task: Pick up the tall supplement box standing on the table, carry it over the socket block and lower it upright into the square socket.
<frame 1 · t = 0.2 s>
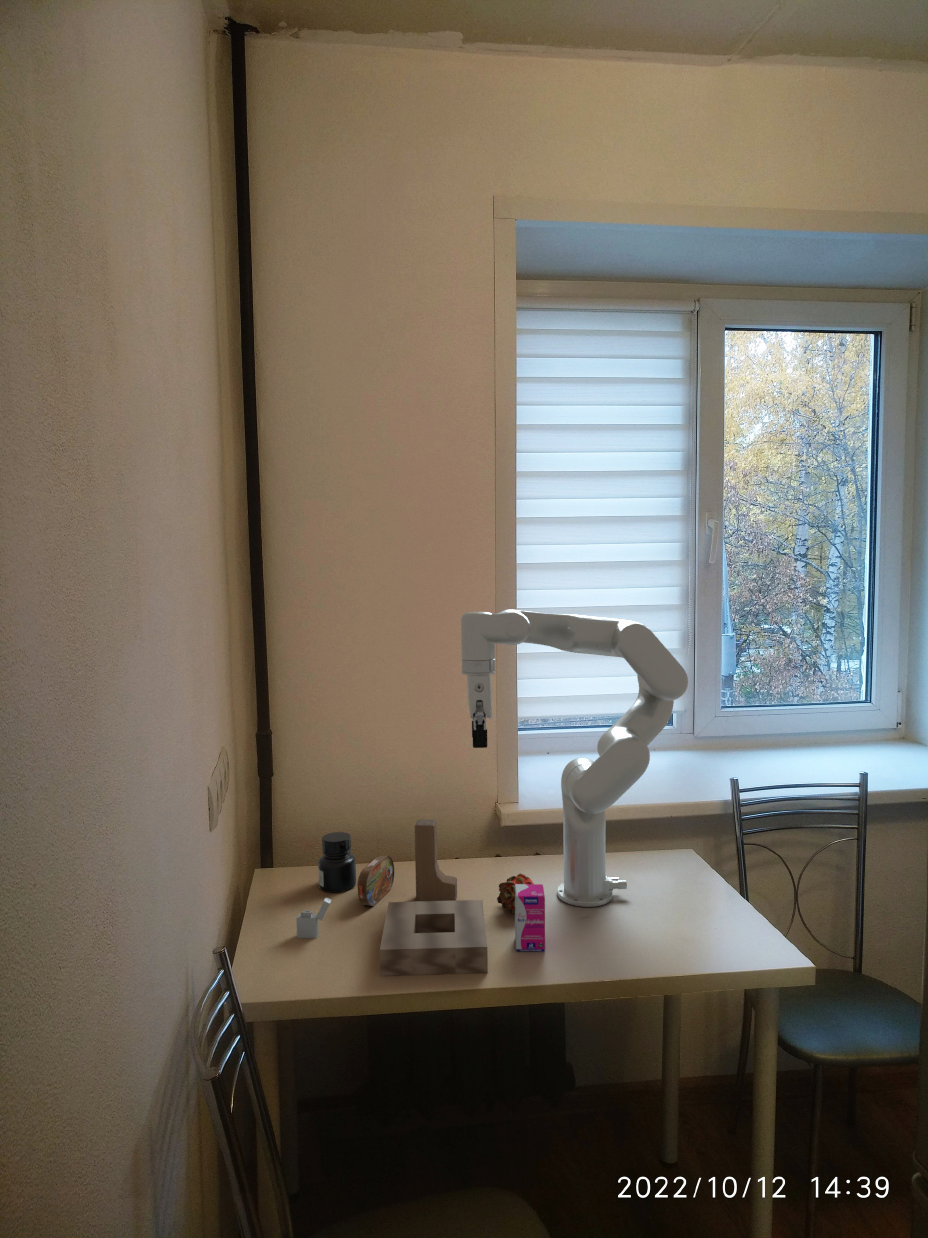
hand: (479, 742, 168), 36 cm above the table, tool pointing down, fingers open, 9 cm apart
wooden block: (436, 900, 170), on the table
supplement box: (530, 946, 149), on the table
socket block: (435, 947, 148), on the table
lighter: (314, 937, 154), on the table
ink bottle: (337, 886, 179), on the table
dragon fruit: (517, 910, 165), on the table
tin: (376, 898, 172), on the table
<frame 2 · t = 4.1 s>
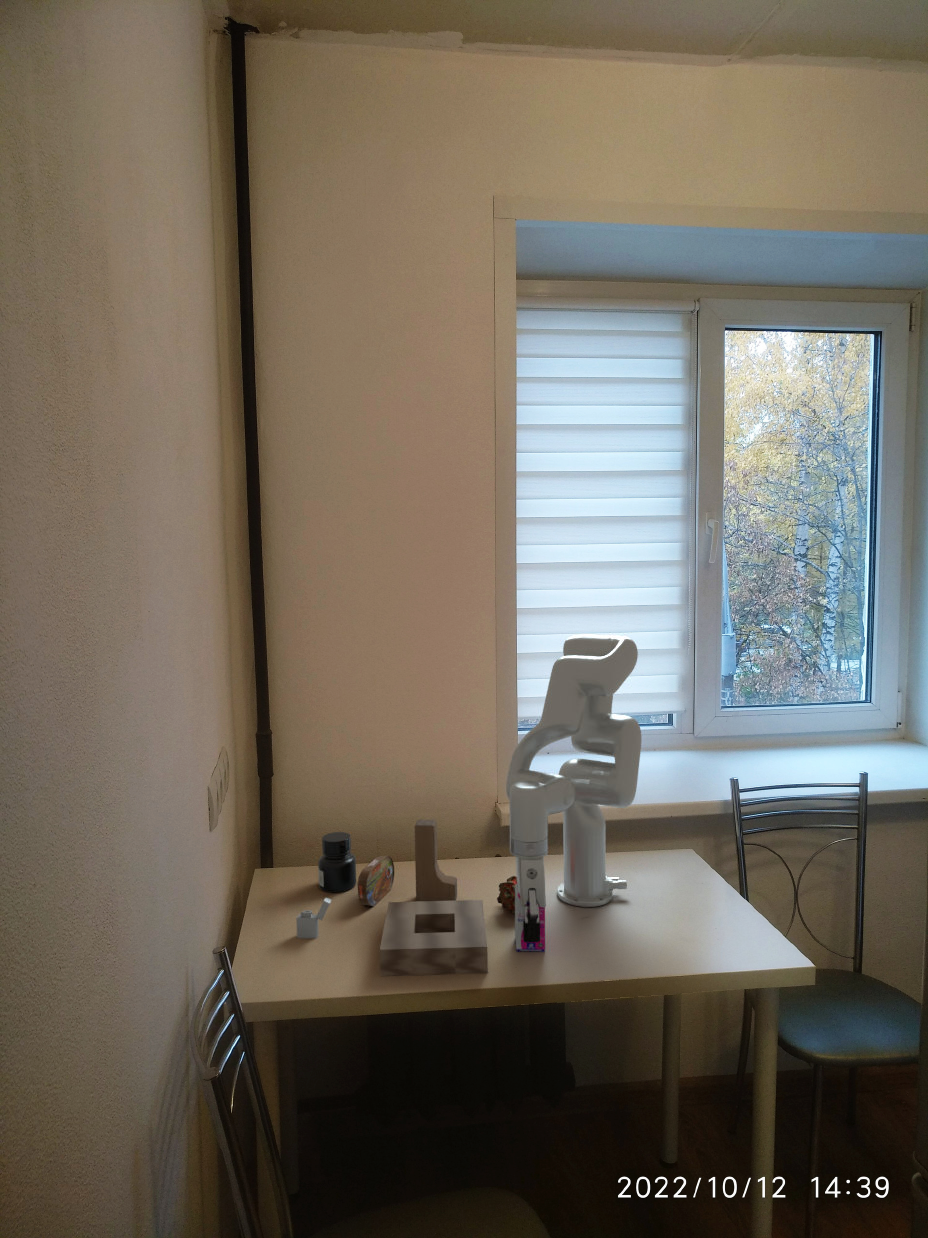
hand: (529, 932, 149), 3 cm above the table, tool pointing down, fingers closed on supplement box, 5 cm apart
supplement box: (530, 946, 149), on the table, touching gripper
everything else where it was.
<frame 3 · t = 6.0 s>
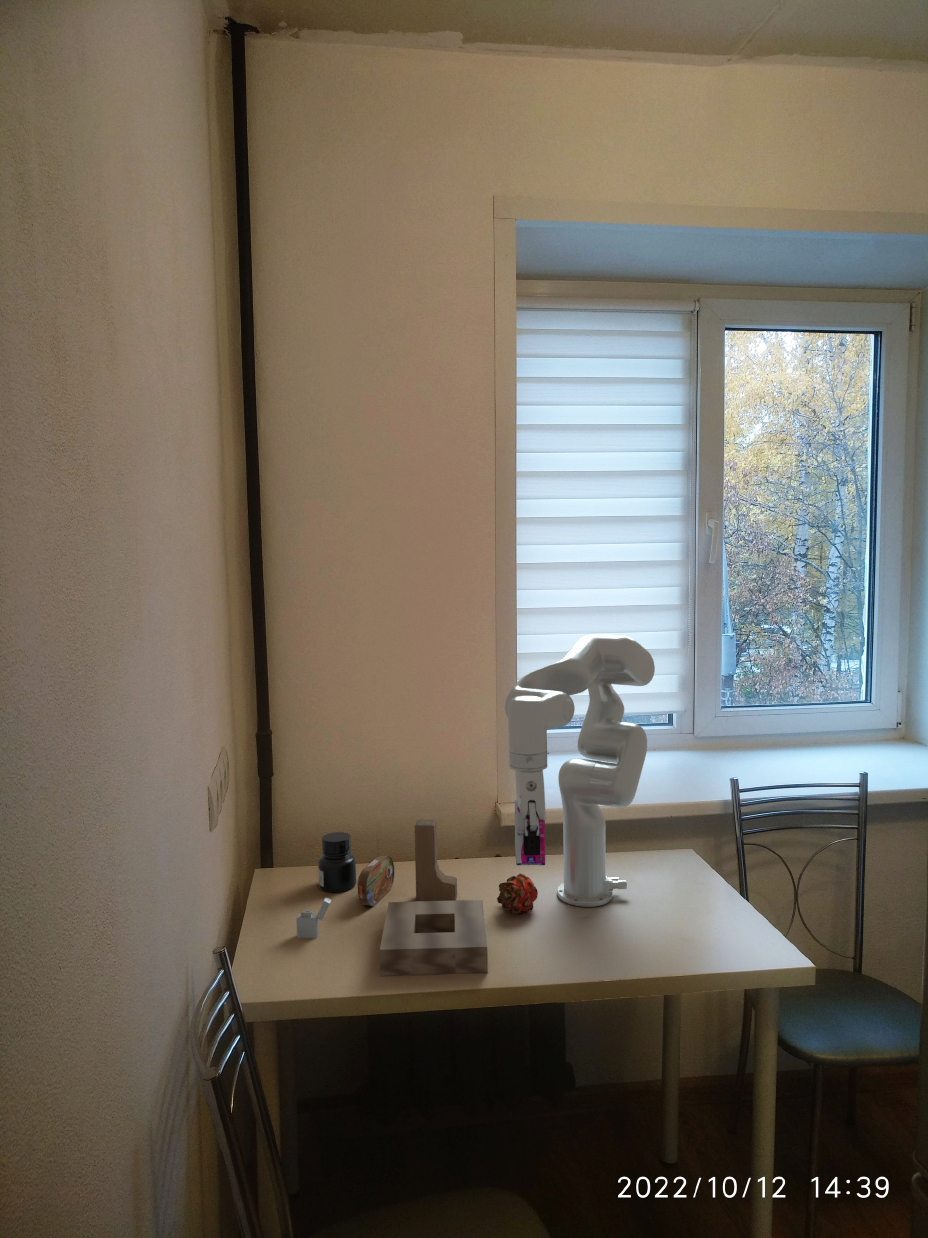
hand: (530, 847, 148), 20 cm above the table, tool pointing down, fingers closed on supplement box, 5 cm apart
supplement box: (530, 861, 148), point 17 cm above the table, touching gripper
everything else where it was.
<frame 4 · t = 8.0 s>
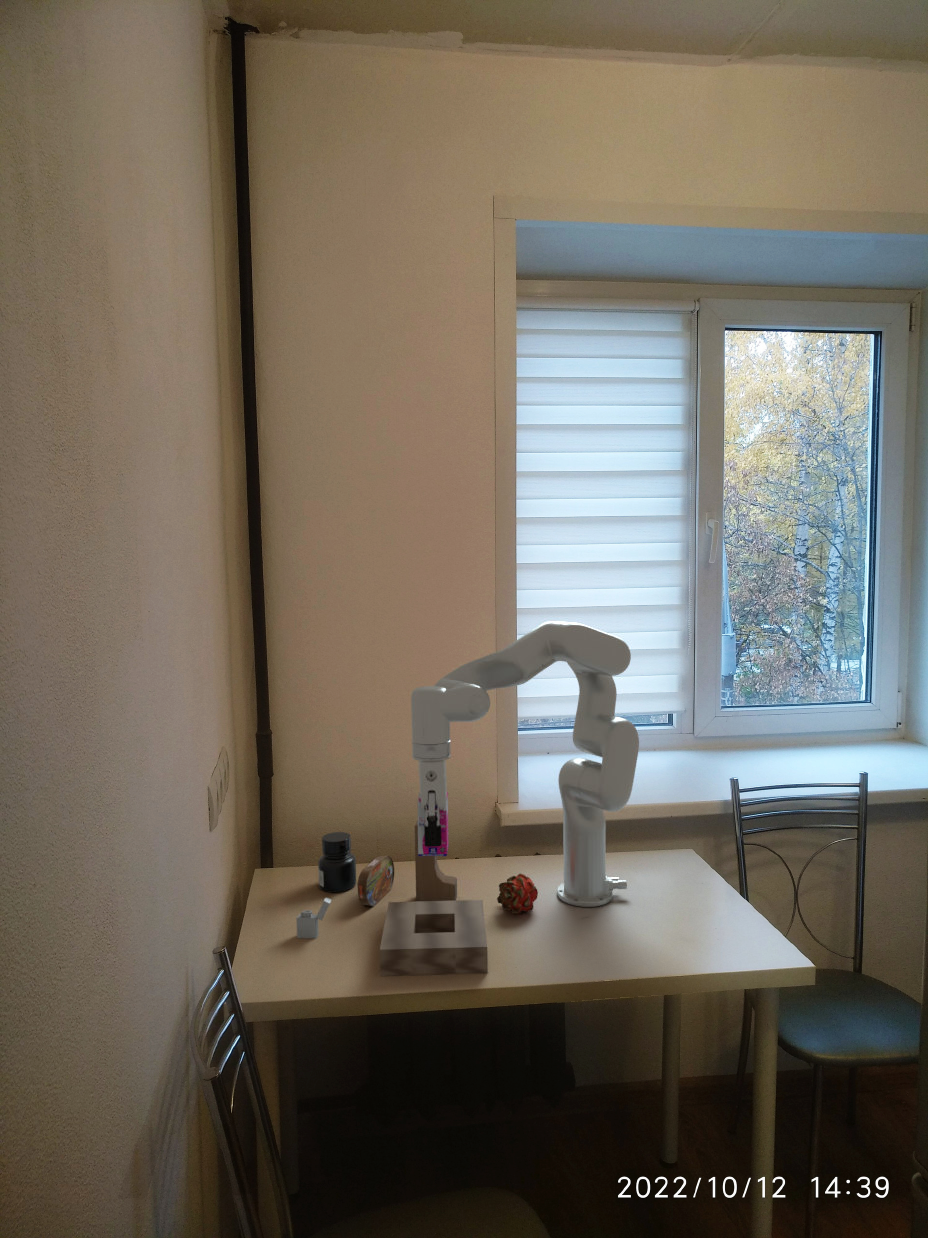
hand: (433, 839, 147), 22 cm above the table, tool pointing down, fingers closed on supplement box, 5 cm apart
supplement box: (433, 852, 147), point 19 cm above the table, touching gripper
everything else where it was.
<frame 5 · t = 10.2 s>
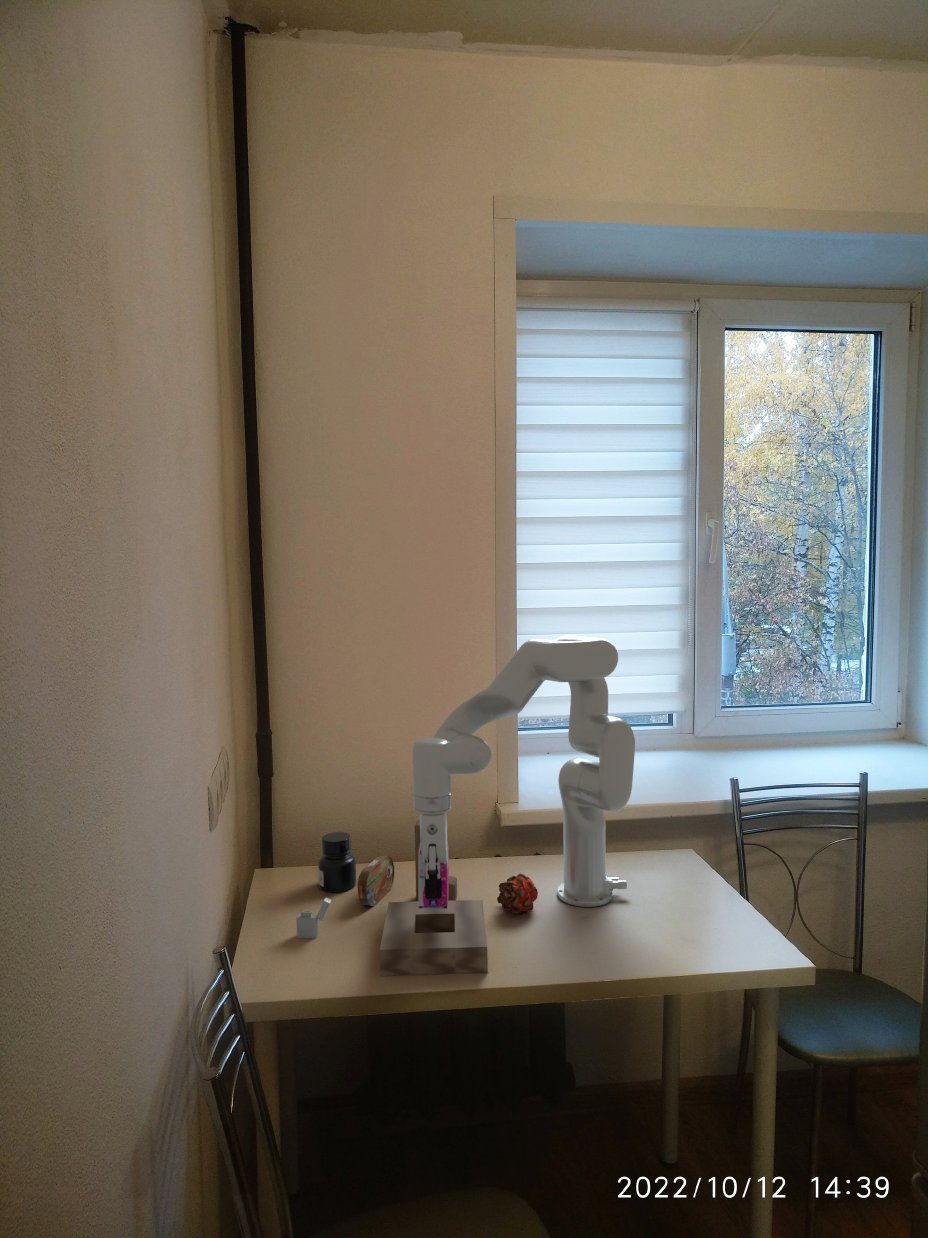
hand: (433, 890, 148), 12 cm above the table, tool pointing down, fingers closed on supplement box, 5 cm apart
supplement box: (434, 904, 148), point 9 cm above the table, touching gripper
everything else where it was.
when the fingers open (5 cm above the table, at t = 12.2 s): supplement box drops 2 cm, resting on socket block.
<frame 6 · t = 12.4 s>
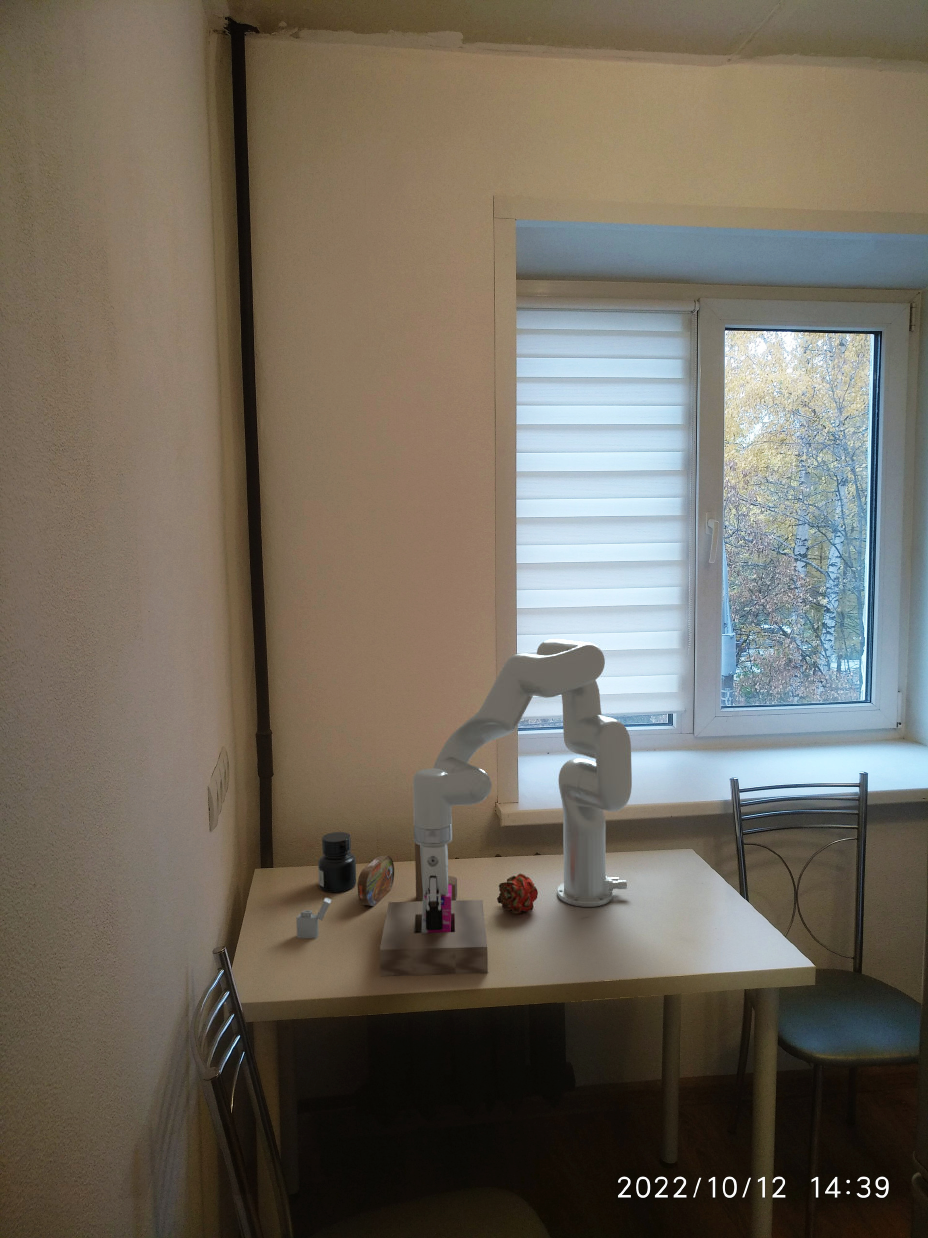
hand: (434, 920, 148), 6 cm above the table, tool pointing down, fingers open, 6 cm apart
supplement box: (435, 946, 148), resting on socket block, touching gripper
everything else where it was.
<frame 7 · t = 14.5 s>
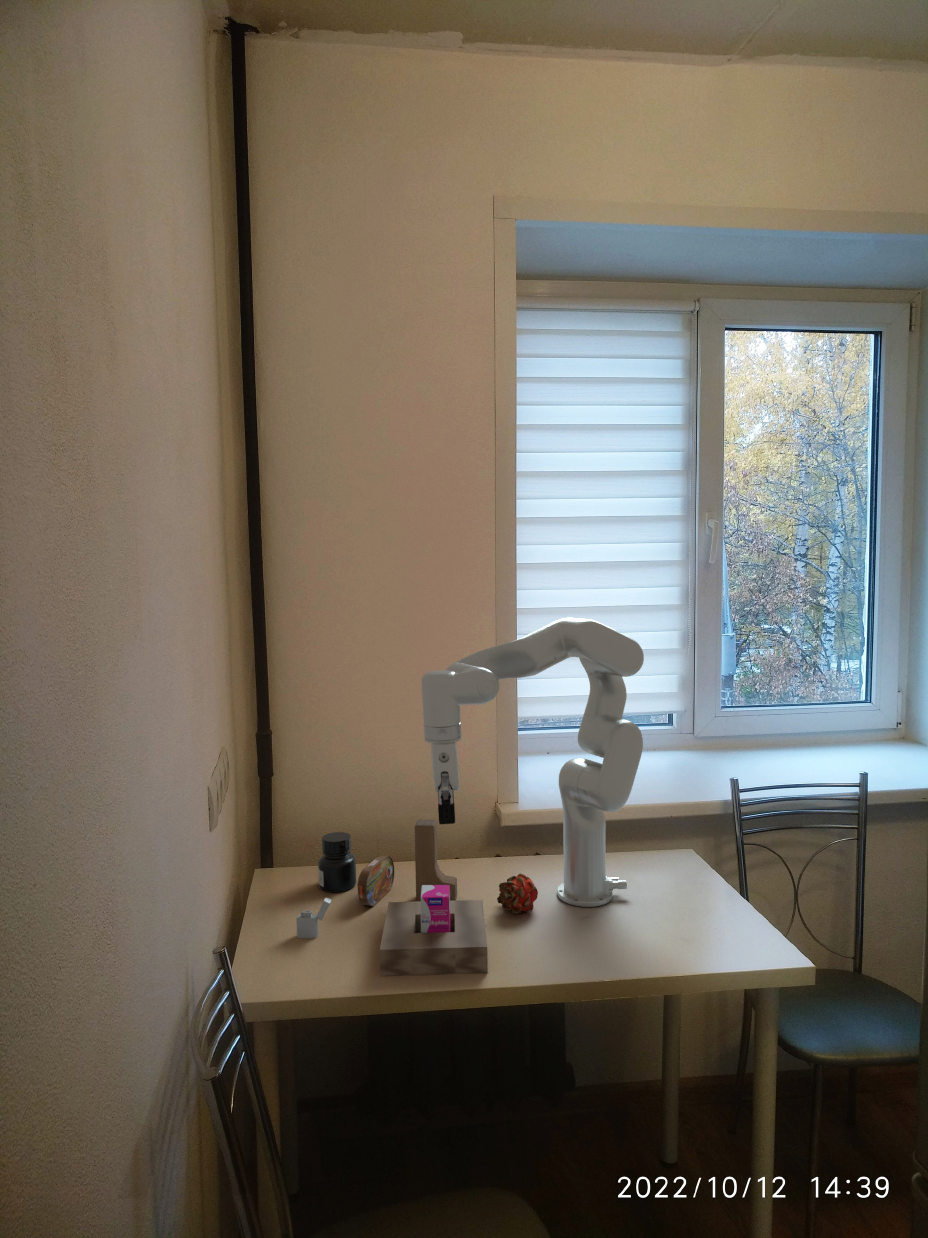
hand: (446, 815, 151), 25 cm above the table, tool pointing down, fingers open, 9 cm apart
supplement box: (436, 947, 148), resting on socket block
everything else where it was.
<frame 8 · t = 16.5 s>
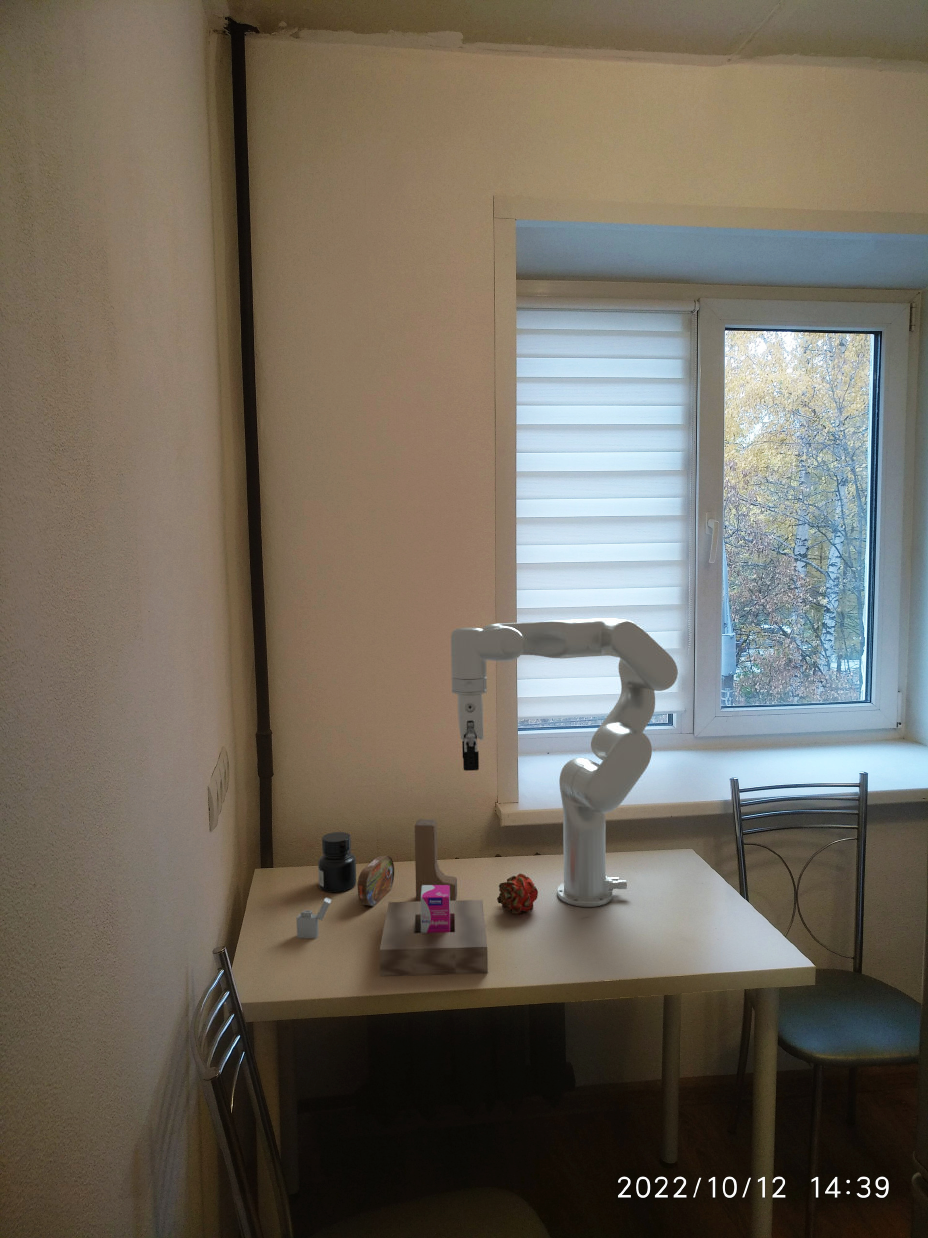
hand: (470, 764, 160), 33 cm above the table, tool pointing down, fingers open, 9 cm apart
nothing on the table moved.
at the end: supplement box 0.4 cm off-centre on the socket block, point 0.2 cm above the socket block's base; supplement box tilted 0°; the gripper is holding nothing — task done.
